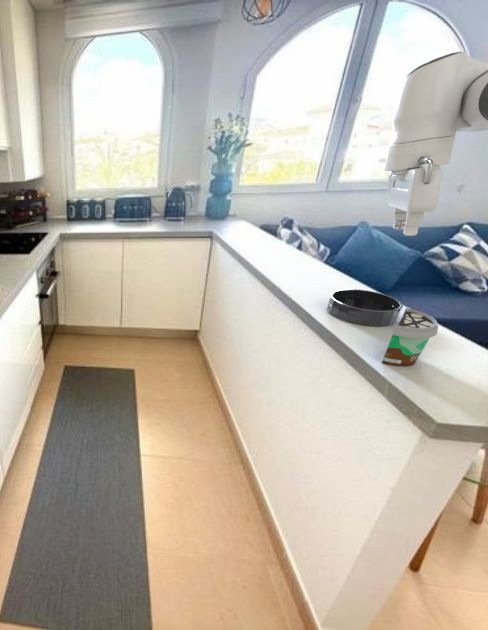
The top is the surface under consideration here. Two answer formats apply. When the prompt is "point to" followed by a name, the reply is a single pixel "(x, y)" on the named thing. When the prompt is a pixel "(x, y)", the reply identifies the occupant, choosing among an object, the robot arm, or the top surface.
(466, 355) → the top surface
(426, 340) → the food container
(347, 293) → the pan
